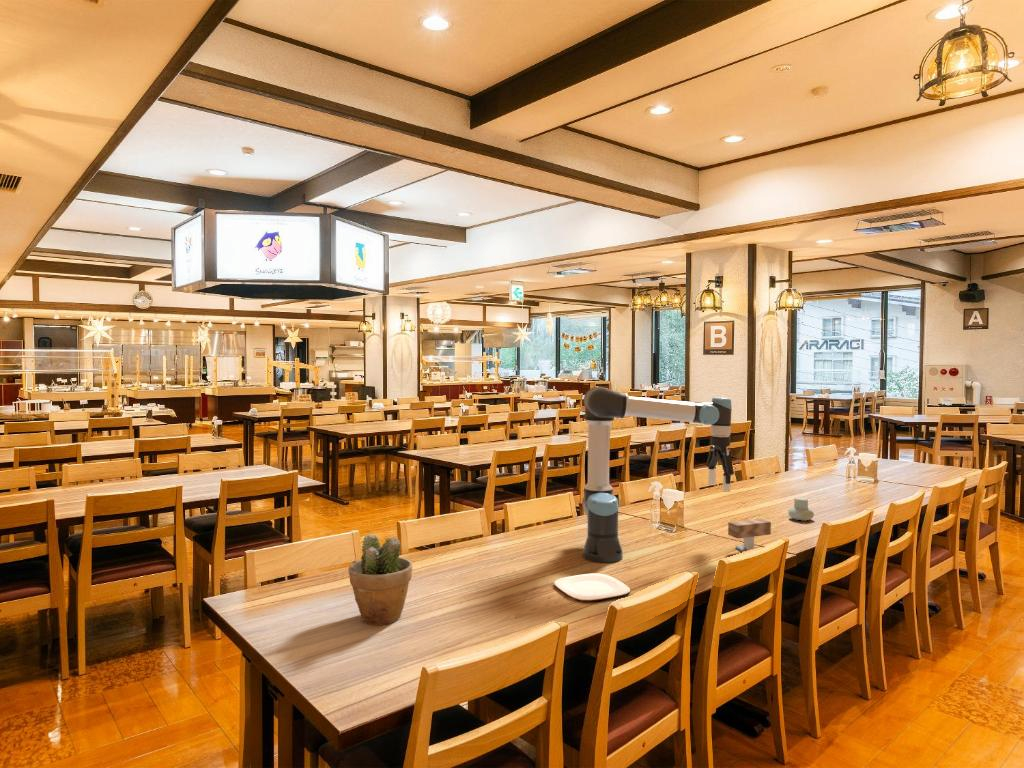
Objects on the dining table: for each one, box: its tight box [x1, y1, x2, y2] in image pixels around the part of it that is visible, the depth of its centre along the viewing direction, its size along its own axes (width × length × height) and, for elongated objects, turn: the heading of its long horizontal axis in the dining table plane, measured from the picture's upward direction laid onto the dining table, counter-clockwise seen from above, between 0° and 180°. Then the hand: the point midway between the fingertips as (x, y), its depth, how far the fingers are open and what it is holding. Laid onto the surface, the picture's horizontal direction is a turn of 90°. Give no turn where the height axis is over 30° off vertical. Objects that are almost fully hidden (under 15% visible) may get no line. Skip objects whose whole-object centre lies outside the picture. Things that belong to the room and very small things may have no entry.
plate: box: [554, 572, 631, 602], centre depth 207 cm, size 22×22×2 cm
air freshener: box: [788, 497, 814, 522], centre depth 297 cm, size 11×8×10 cm
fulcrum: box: [735, 536, 757, 553], centre depth 248 cm, size 7×8×6 cm
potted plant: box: [348, 534, 413, 626], centre depth 184 cm, size 18×19×25 cm
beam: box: [727, 518, 772, 539], centre depth 248 cm, size 16×6×5 cm, turn 110°
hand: (719, 488), depth 254 cm, fingers open, 13 cm apart
